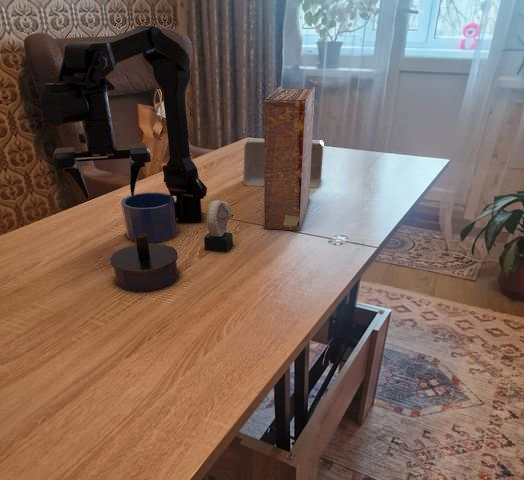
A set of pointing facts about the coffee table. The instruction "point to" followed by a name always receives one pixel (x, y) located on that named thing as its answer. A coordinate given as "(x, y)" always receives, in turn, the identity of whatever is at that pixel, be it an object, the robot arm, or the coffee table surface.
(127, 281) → the pan
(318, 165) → the white rounded tray
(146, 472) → the coffee table surface
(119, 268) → the lid
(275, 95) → the book
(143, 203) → the pot
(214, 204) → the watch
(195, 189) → the robot arm
